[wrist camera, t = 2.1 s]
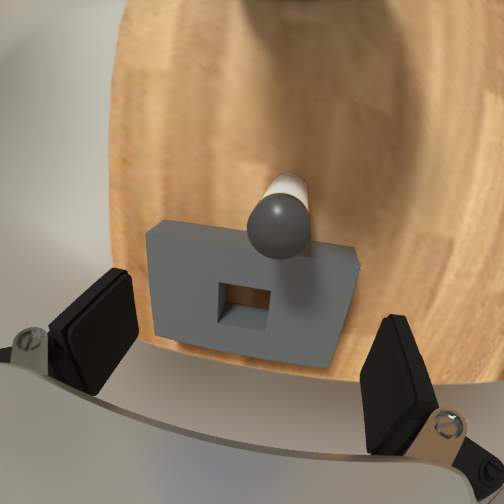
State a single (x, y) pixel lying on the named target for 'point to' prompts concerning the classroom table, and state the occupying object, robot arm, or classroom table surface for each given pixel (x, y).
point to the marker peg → (281, 218)
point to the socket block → (255, 276)
